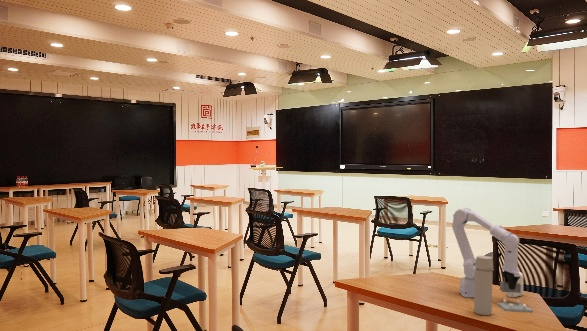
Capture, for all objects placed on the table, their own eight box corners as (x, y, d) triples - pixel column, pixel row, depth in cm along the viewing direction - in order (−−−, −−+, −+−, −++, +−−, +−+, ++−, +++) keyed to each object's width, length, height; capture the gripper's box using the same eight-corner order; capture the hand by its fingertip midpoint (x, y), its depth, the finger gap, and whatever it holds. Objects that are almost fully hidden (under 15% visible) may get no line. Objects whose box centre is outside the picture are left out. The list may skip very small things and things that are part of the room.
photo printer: (516, 293, 228) (516, 269, 228) (524, 295, 225) (524, 271, 225) (504, 296, 223) (505, 271, 223) (513, 298, 219) (513, 273, 219)
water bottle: (486, 317, 190) (488, 259, 190) (469, 312, 196) (471, 256, 196) (497, 313, 195) (499, 257, 195) (481, 308, 201) (482, 254, 201)
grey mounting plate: (505, 310, 199) (505, 304, 199) (497, 304, 208) (497, 298, 208) (532, 312, 199) (532, 305, 199) (523, 305, 208) (523, 299, 208)
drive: (503, 291, 209) (503, 283, 209) (499, 289, 213) (500, 281, 213) (520, 292, 209) (520, 284, 209) (516, 290, 213) (517, 281, 213)
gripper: (526, 263, 203) (525, 292, 203) (512, 257, 218) (512, 284, 218) (510, 262, 204) (510, 292, 204) (498, 256, 218) (497, 283, 218)
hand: (510, 288), depth 211 cm, fingers closed on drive, 4 cm apart
